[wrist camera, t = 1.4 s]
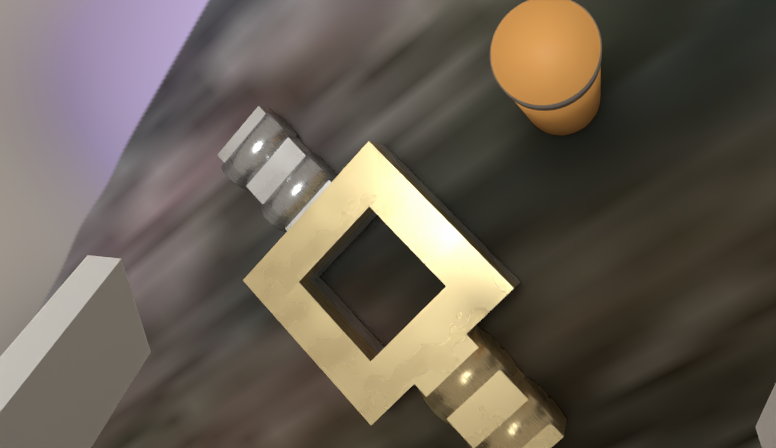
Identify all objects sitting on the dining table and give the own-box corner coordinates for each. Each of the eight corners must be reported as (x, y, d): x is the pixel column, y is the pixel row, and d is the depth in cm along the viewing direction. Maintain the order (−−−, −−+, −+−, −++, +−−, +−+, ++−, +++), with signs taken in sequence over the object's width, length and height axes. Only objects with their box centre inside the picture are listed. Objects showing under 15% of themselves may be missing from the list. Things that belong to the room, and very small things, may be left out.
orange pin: (601, 57, 36) (602, -11, 25) (601, 134, 36) (601, 103, 25) (523, 62, 37) (489, 0, 26) (523, 137, 37) (489, 109, 26)
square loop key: (306, 66, 41) (283, 55, 38) (614, 376, 36) (615, 392, 33) (196, 196, 44) (166, 195, 41) (470, 502, 39) (459, 528, 36)
